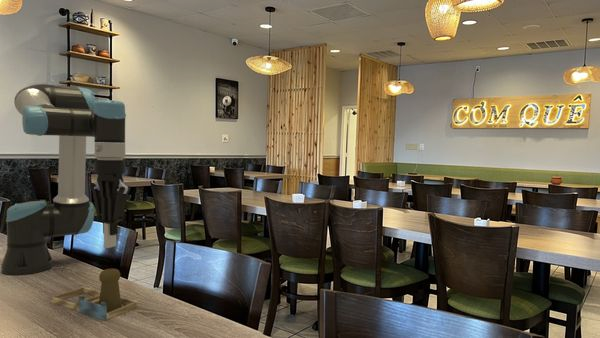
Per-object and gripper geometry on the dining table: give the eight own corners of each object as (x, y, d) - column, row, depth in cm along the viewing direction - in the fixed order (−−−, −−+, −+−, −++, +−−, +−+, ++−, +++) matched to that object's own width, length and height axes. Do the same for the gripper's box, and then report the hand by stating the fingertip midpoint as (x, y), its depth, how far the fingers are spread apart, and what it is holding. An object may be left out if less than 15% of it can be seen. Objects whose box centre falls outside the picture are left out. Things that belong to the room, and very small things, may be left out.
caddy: (48, 303, 118) (48, 287, 118) (83, 291, 128) (83, 277, 128) (104, 320, 108) (104, 303, 108) (138, 306, 117) (138, 291, 117)
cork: (112, 315, 112) (112, 273, 111) (92, 312, 113) (92, 271, 112) (126, 306, 117) (126, 267, 117) (107, 304, 119) (107, 265, 118)
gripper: (81, 158, 112) (81, 246, 114) (115, 160, 106) (115, 252, 108) (105, 158, 119) (105, 241, 120) (138, 159, 113) (138, 246, 114)
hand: (110, 246), depth 114 cm, fingers closed
